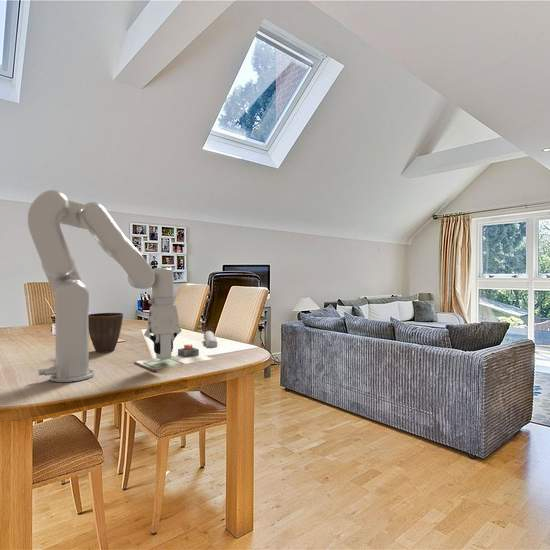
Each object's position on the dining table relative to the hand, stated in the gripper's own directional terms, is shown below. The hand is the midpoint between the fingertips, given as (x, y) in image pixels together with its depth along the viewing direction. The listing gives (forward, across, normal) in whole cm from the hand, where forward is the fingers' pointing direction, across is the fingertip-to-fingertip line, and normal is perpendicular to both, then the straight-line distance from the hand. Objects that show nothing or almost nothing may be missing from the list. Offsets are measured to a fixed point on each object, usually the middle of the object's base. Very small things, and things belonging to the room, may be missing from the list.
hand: (163, 351), depth 140 cm
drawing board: (+5, +6, +2) cm, 8 cm away
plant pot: (+5, -7, +44) cm, 44 cm away
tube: (+6, +35, +25) cm, 44 cm away
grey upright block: (+2, 0, 0) cm, 2 cm away
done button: (+3, +14, +7) cm, 16 cm away
